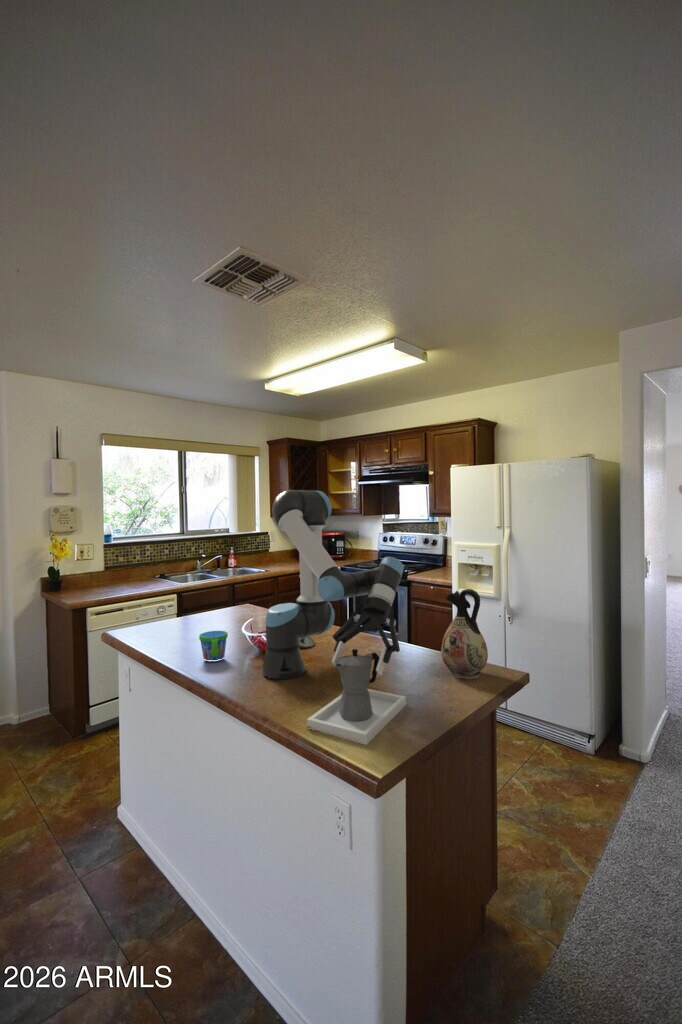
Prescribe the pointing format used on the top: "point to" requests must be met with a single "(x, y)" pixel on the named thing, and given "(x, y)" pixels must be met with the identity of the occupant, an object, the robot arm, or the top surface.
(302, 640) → the lid
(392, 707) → the docking tray
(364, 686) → the coffeepot
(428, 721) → the top surface
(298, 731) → the top surface
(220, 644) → the snack cup
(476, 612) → the ceramic jug
